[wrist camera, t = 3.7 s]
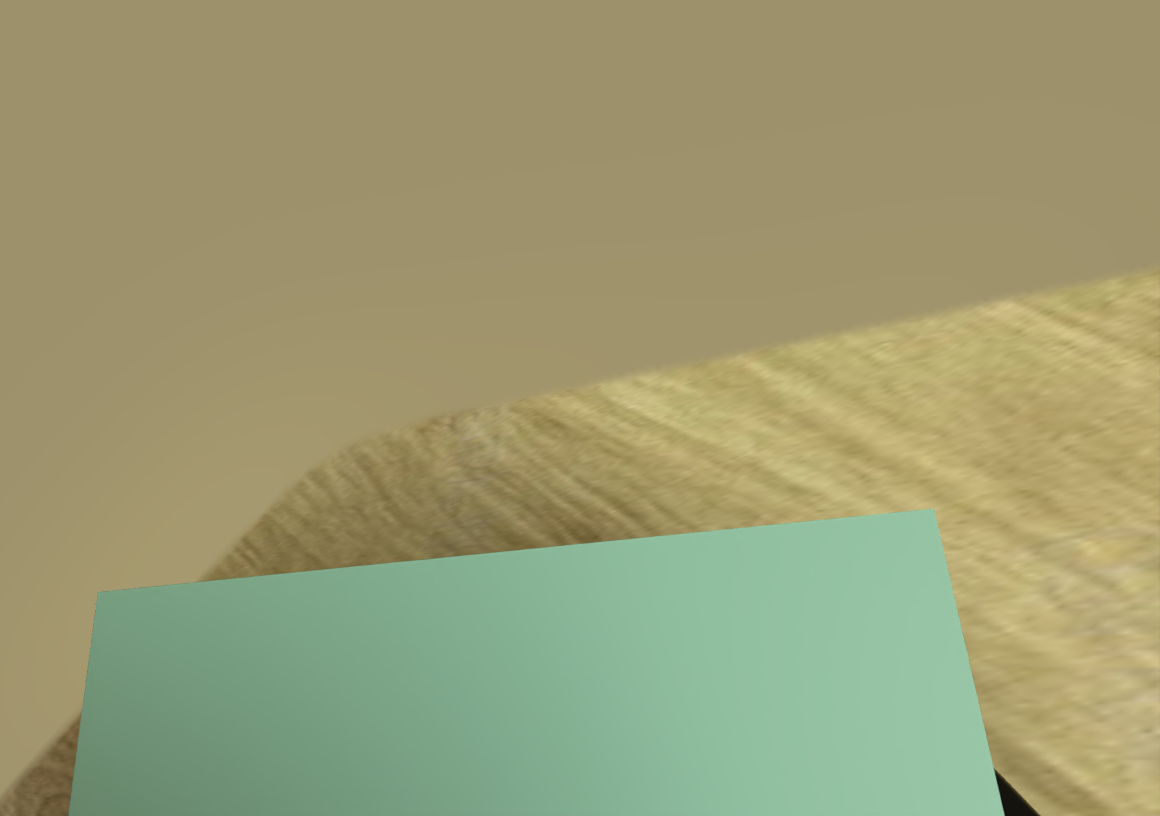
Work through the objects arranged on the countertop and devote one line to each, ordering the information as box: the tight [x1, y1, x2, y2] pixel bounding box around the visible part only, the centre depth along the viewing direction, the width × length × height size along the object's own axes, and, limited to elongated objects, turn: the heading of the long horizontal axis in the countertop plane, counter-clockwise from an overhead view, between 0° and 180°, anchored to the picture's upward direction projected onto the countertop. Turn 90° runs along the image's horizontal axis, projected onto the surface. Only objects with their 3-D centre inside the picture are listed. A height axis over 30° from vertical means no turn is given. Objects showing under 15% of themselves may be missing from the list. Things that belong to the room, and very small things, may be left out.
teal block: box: [68, 509, 1005, 816], centre depth 9 cm, size 4×4×12 cm
